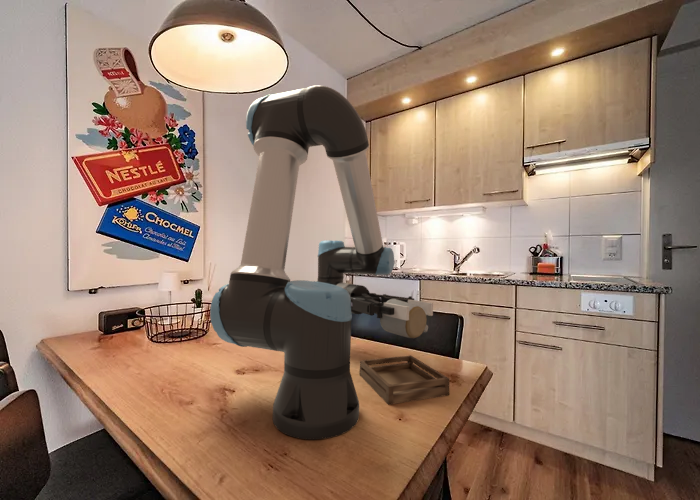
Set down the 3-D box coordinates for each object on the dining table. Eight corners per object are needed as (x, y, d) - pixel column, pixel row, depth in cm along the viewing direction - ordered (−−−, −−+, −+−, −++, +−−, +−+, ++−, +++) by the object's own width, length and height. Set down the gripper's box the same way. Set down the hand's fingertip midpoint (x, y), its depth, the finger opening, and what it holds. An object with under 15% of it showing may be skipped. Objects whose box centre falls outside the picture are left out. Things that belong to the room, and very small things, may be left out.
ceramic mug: (407, 342, 64) (408, 304, 64) (378, 334, 70) (379, 299, 70) (437, 335, 71) (438, 301, 71) (408, 328, 77) (409, 296, 77)
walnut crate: (388, 404, 60) (388, 386, 60) (359, 374, 74) (359, 360, 74) (449, 395, 64) (449, 378, 64) (410, 368, 79) (411, 355, 79)
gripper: (378, 308, 90) (447, 323, 72) (319, 316, 77) (386, 336, 60) (378, 282, 90) (448, 290, 72) (320, 286, 77) (387, 297, 60)
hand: (420, 311), depth 66 cm, fingers closed on ceramic mug, 7 cm apart
